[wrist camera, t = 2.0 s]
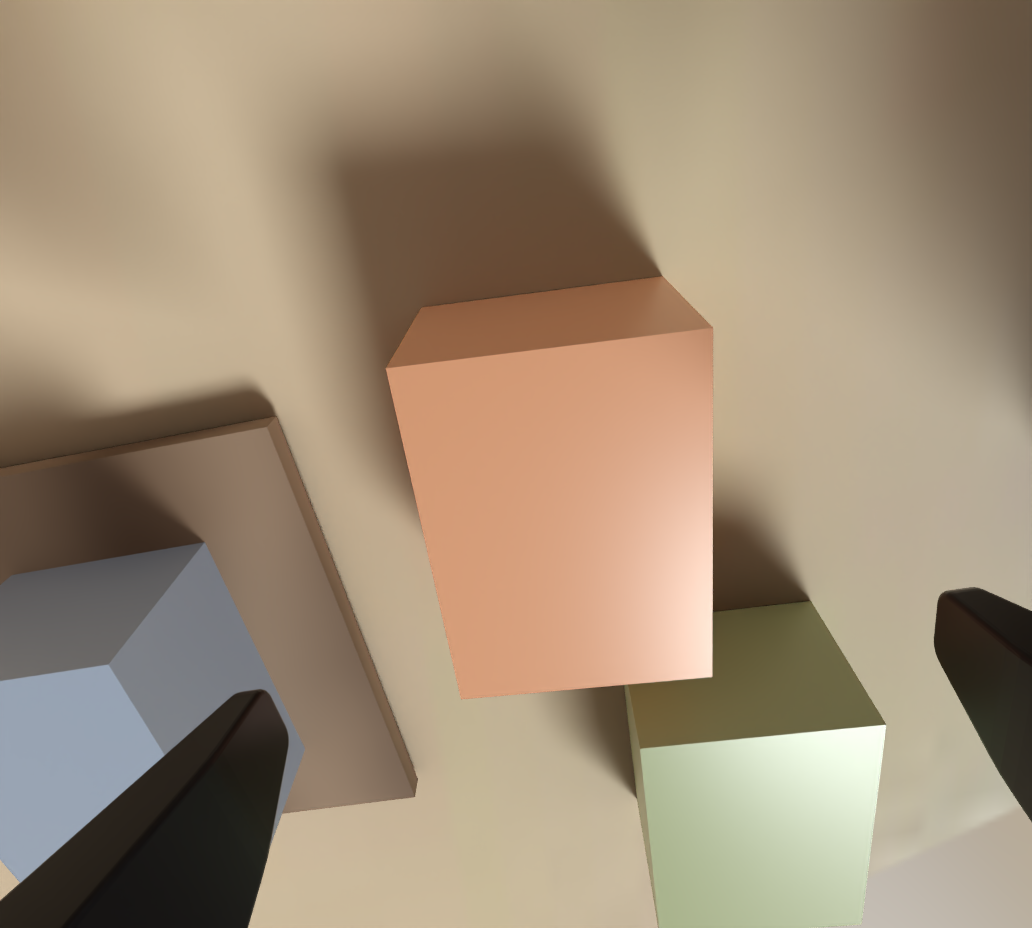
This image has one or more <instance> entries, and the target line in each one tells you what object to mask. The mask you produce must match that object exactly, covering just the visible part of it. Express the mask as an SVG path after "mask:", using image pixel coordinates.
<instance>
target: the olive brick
mask: <svg viewBox="0 0 1032 928" xmlns="http://www.w3.org/2000/svg"><path fill="white" fill-rule="evenodd" d="M624 690H625V699H626V708H627V717H628V725H629V734H630V743H631V751H632V760H633V769H634V777H635V786H636V795H637V802H638V808H639V814H640V820H641V826H642V832H643V838H644V844H645V850H646V856H647V862H648V868H649V874H650V880H651V886H652V892H653V898H654V905H655V911H656V917H657V923H658V928H820V927H833V926H847V925H861V924H862V915H863V908H864V900H865V892H866V884H867V876H868V868H869V860H870V852H871V844H872V836H873V828H874V819H875V811H876V803H877V795H878V787H879V779H880V771H881V763H882V755H883V747H884V739H885V731H886V723H885V722H884V720H883V719H882V717H881V715H880V714H879V712H878V710H877V709H876V707H875V705H874V704H873V702H872V700H871V699H870V697H869V696H868V694H867V692H866V691H865V689H864V687H863V686H862V684H861V682H860V681H859V679H858V678H857V676H856V674H855V673H854V671H853V669H852V668H851V666H850V664H849V663H848V661H847V660H846V658H845V656H844V655H843V653H842V651H841V650H840V648H839V646H838V645H837V643H836V641H835V640H834V638H833V637H832V635H831V633H830V632H829V630H828V628H827V627H826V625H825V623H824V622H823V620H822V619H821V617H820V615H819V614H818V612H817V610H816V609H815V607H814V605H813V604H812V602H811V601H806V602H797V603H788V604H779V605H771V606H762V607H753V608H744V609H735V610H727V611H718V612H713V618H712V677H706V678H695V679H683V680H672V681H661V682H650V683H639V684H627V685H624Z"/></svg>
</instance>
